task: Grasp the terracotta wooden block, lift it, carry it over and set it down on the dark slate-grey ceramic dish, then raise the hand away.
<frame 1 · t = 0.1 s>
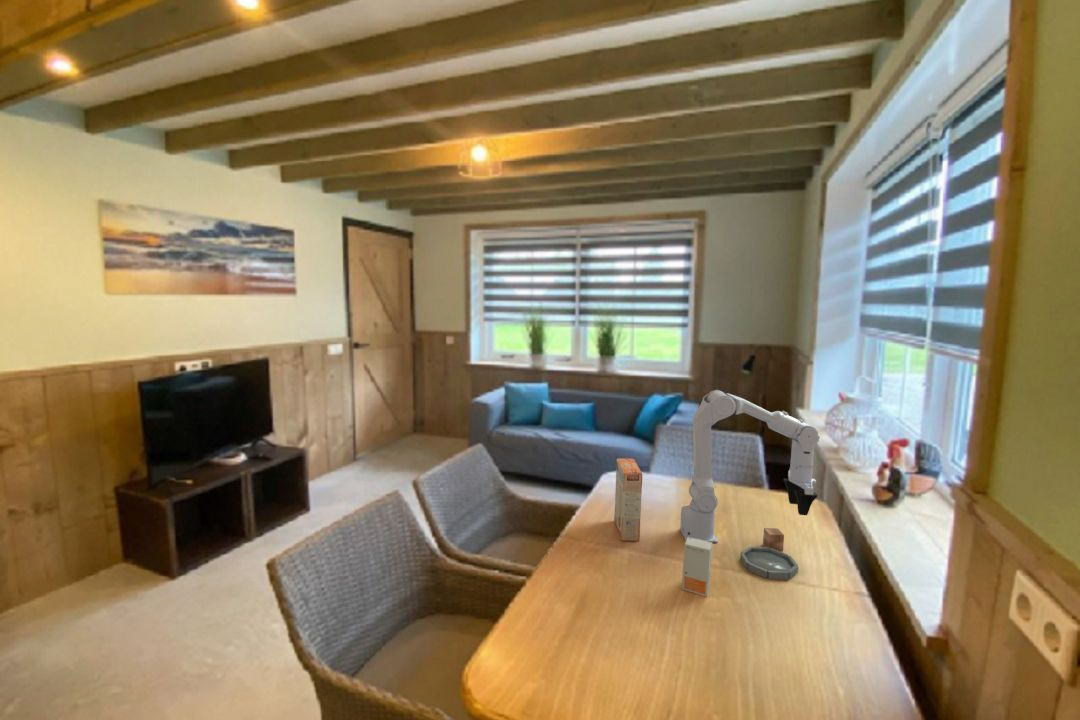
hand: (798, 509, 139), 10 cm above the table, tool pointing down, fingers open, 7 cm apart
dish: (768, 565, 127), on the table
skincare box: (695, 590, 116), on the table
block: (772, 547, 137), on the table
cracker box: (626, 531, 146), on the table
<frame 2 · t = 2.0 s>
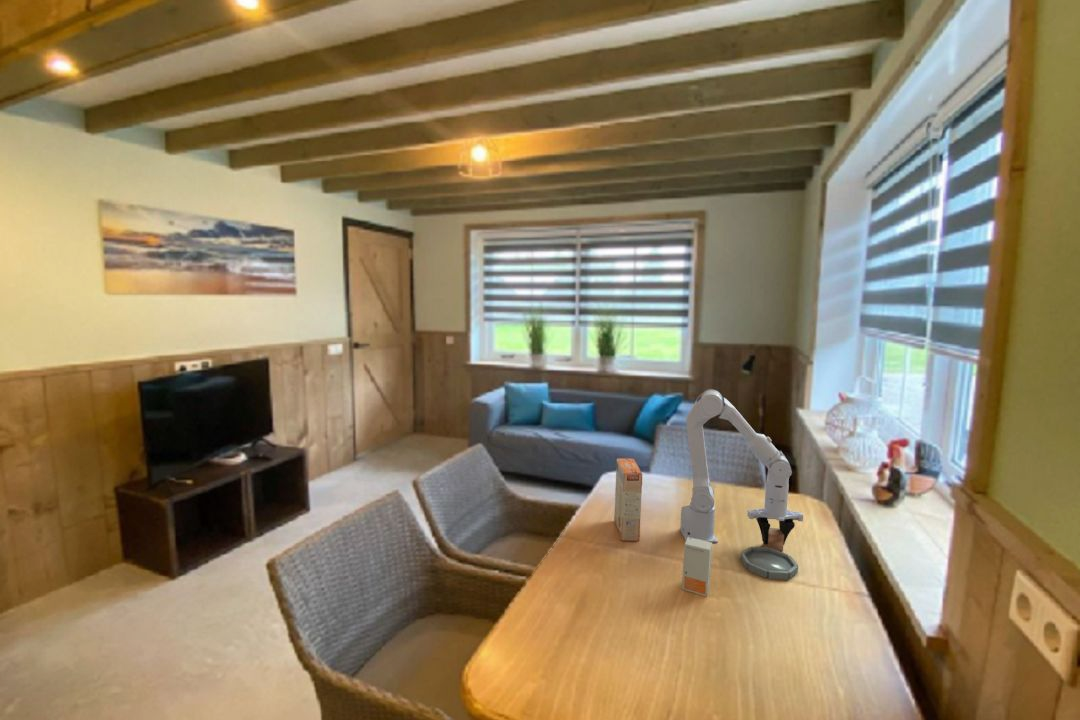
hand: (773, 543, 136), 1 cm above the table, tool pointing down, fingers closed on block, 4 cm apart
block: (772, 547, 137), on the table, touching gripper
everything else where it was.
when the fingers open (4 cm above the table, at t = 5.1 s): block drops 2 cm, resting on dish.
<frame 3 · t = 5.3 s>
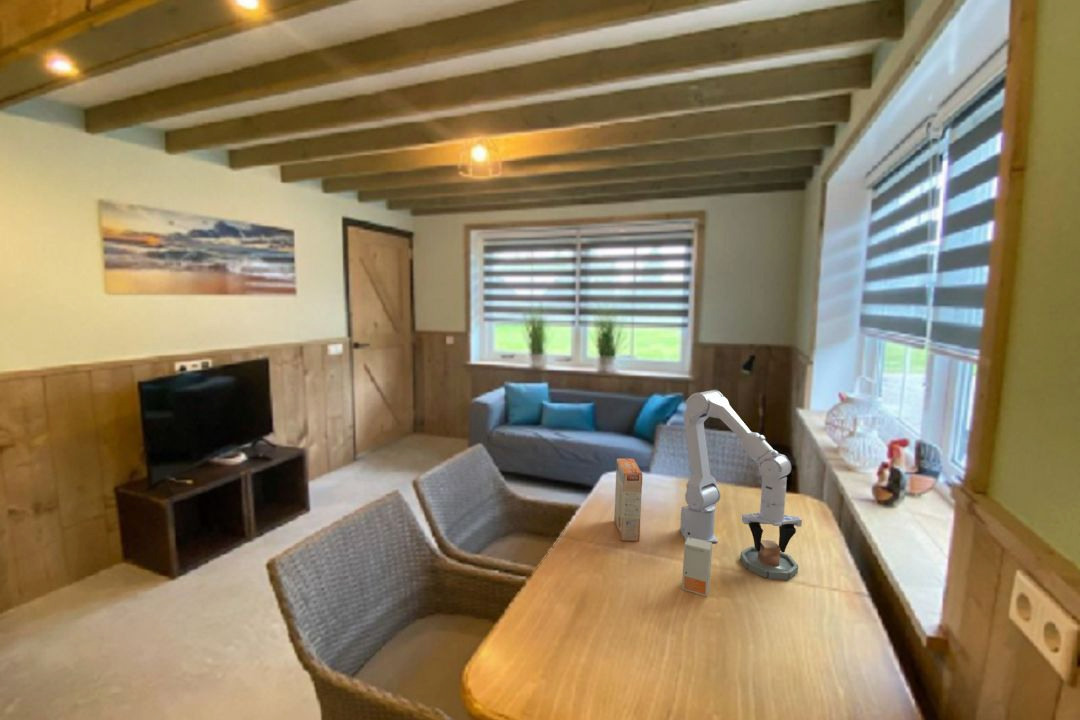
hand: (769, 549, 127), 4 cm above the table, tool pointing down, fingers open, 6 cm apart
block: (768, 561, 127), point 1 cm above the table, touching dish
everything else where it was.
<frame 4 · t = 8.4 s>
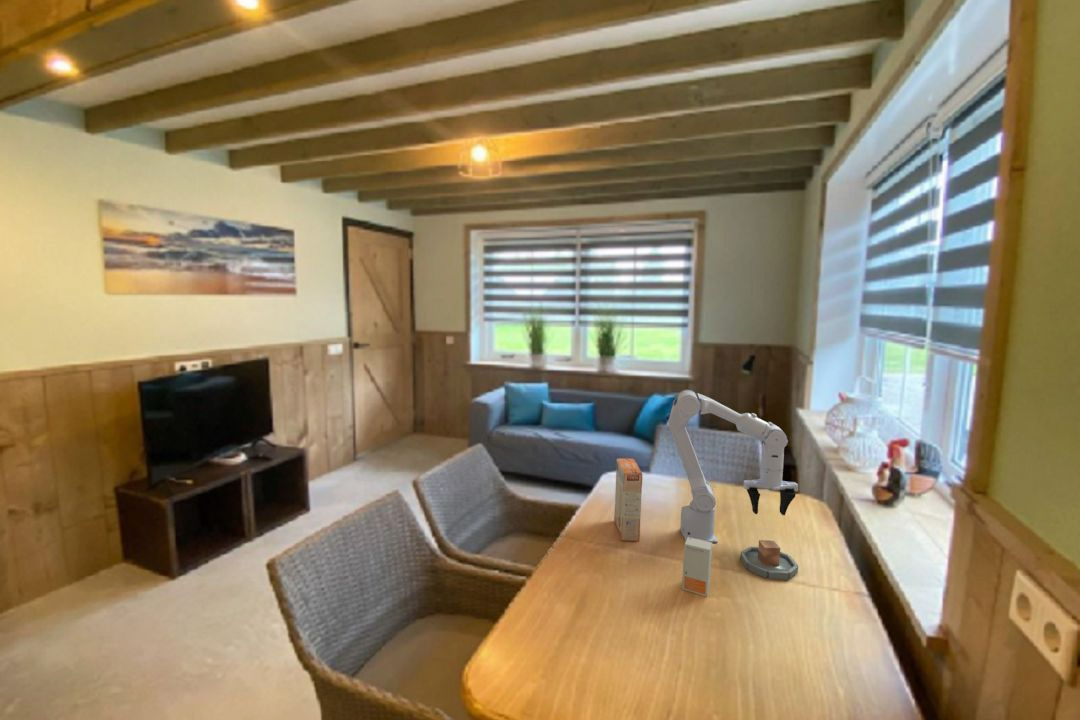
hand: (768, 513, 138), 9 cm above the table, tool pointing down, fingers open, 7 cm apart
nothing on the table moved.
at the end: block inside the target area on the dish (0.1 cm from its centre), point 1.0 cm above the dish's base; block tilted 0°; the gripper is holding nothing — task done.
